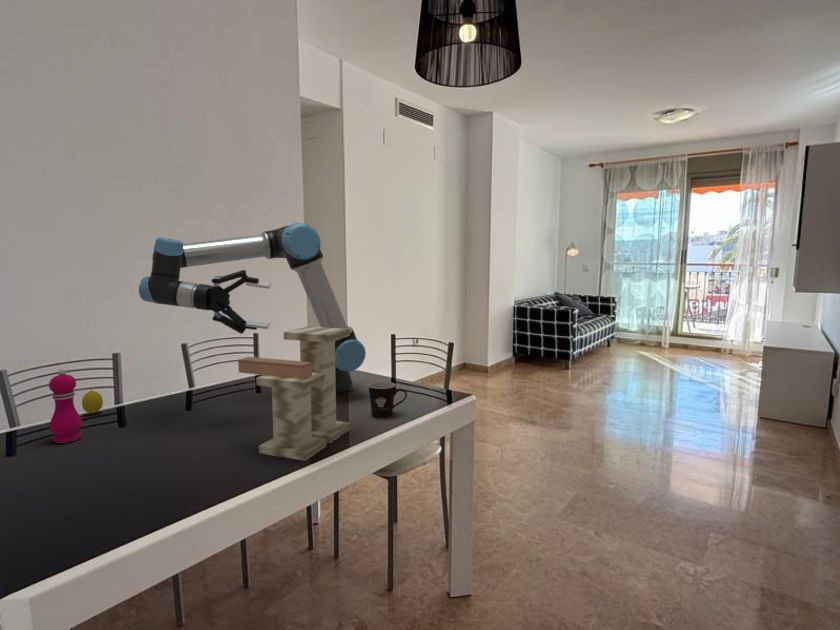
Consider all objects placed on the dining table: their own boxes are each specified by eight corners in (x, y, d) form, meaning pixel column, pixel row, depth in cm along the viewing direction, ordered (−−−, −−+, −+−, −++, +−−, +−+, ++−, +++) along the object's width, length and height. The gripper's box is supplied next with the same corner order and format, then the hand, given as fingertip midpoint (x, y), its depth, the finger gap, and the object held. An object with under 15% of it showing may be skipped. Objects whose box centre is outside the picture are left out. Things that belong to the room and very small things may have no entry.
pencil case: (312, 375, 125) (311, 362, 125) (303, 379, 121) (302, 365, 121) (248, 369, 132) (248, 356, 131) (238, 372, 128) (238, 359, 128)
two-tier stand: (351, 429, 143) (349, 328, 139) (305, 460, 120) (302, 342, 117) (310, 423, 147) (307, 326, 144) (259, 453, 125) (254, 338, 121)
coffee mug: (363, 417, 154) (363, 386, 152) (378, 409, 161) (377, 380, 160) (394, 422, 148) (394, 391, 147) (408, 415, 156) (408, 384, 155)
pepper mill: (58, 447, 129) (51, 373, 126) (46, 441, 132) (39, 370, 130) (88, 438, 135) (82, 368, 132) (76, 433, 138) (70, 365, 136)
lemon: (81, 418, 152) (79, 393, 151) (84, 413, 157) (82, 389, 156) (102, 415, 154) (100, 391, 153) (104, 410, 159) (102, 387, 158)
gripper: (200, 252, 142) (273, 263, 143) (203, 326, 152) (271, 336, 154) (190, 261, 135) (266, 272, 137) (193, 338, 146) (264, 347, 147)
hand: (269, 306), depth 145 cm, fingers open, 13 cm apart
